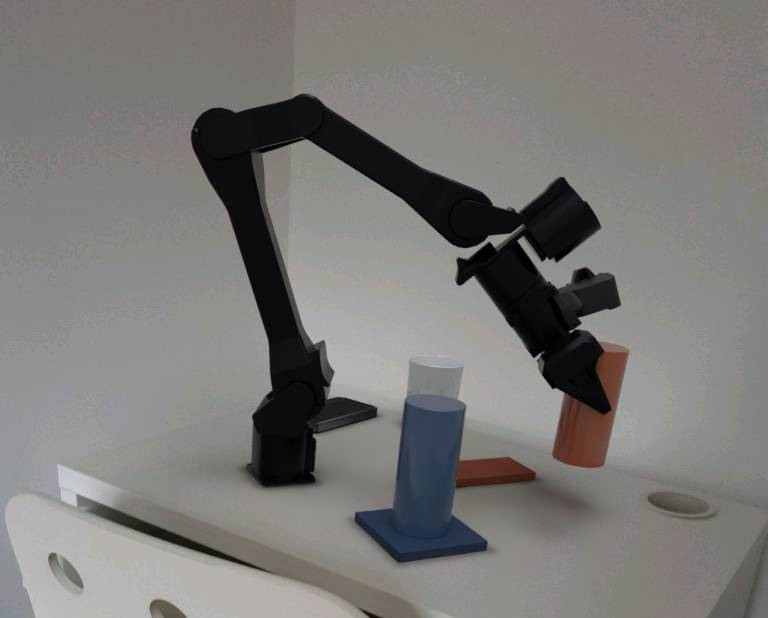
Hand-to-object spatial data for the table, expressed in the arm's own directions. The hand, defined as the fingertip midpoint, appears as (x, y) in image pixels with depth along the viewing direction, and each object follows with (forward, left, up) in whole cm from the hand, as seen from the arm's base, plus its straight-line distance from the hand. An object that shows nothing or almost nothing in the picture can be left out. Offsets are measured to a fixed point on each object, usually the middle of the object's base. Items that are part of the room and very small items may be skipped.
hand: (602, 404), depth 90 cm
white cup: (-3, +31, -13) cm, 34 cm away
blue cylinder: (-23, -2, -11) cm, 26 cm away
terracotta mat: (-6, +12, -12) cm, 18 cm away
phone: (-16, +38, -12) cm, 43 cm away
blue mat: (-23, -2, -12) cm, 26 cm away
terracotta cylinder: (-1, +1, -7) cm, 7 cm away
